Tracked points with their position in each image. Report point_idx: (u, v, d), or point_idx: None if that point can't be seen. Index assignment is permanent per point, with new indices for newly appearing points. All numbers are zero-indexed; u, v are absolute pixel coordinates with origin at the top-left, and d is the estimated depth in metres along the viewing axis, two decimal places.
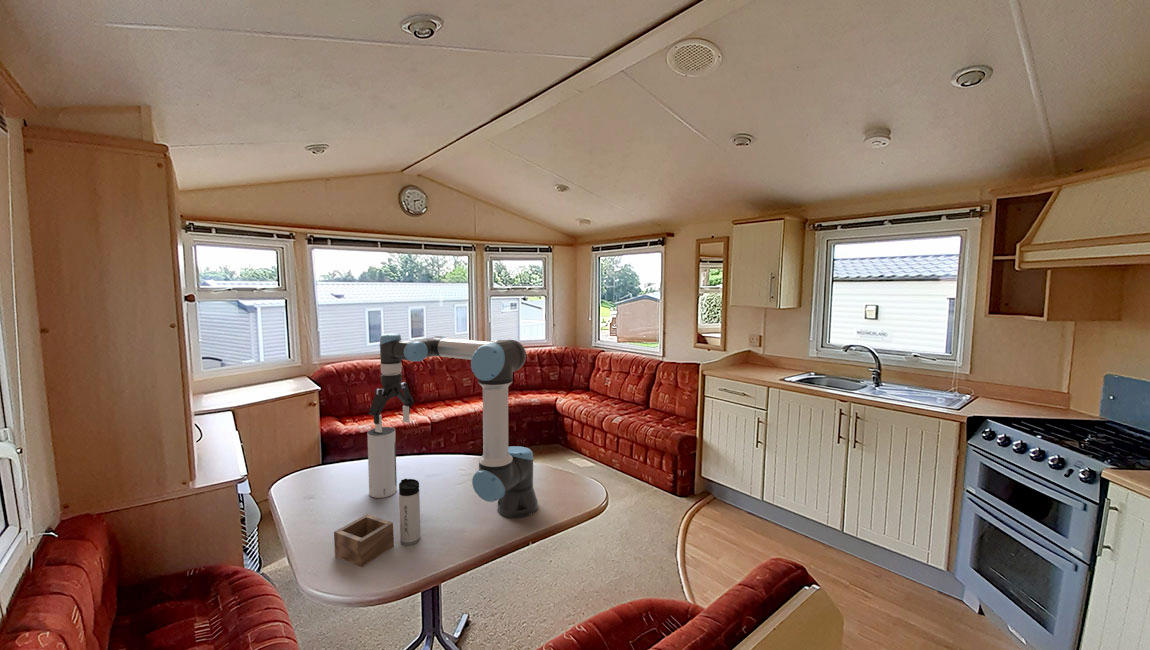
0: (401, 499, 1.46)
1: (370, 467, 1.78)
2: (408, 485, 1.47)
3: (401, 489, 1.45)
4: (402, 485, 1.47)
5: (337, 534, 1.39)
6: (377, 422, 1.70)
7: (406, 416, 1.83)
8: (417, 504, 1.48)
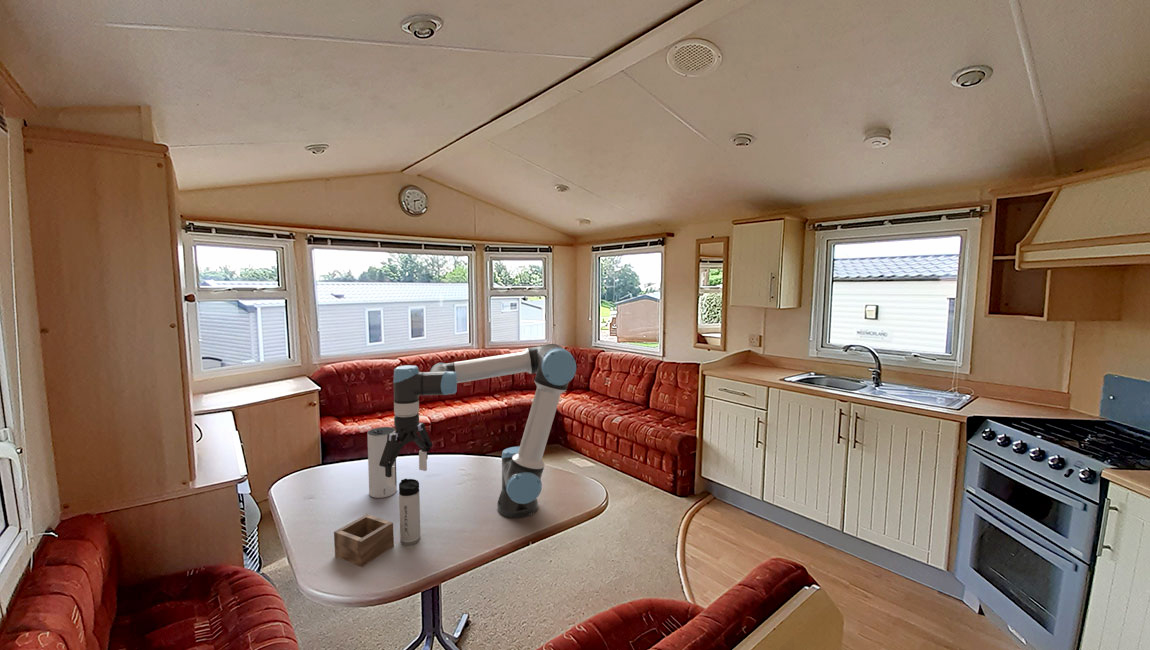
0: (401, 499, 1.46)
1: (370, 467, 1.78)
2: (408, 485, 1.47)
3: (401, 489, 1.45)
4: (402, 485, 1.47)
5: (337, 534, 1.39)
6: (389, 475, 1.40)
7: (423, 463, 1.53)
8: (417, 504, 1.48)
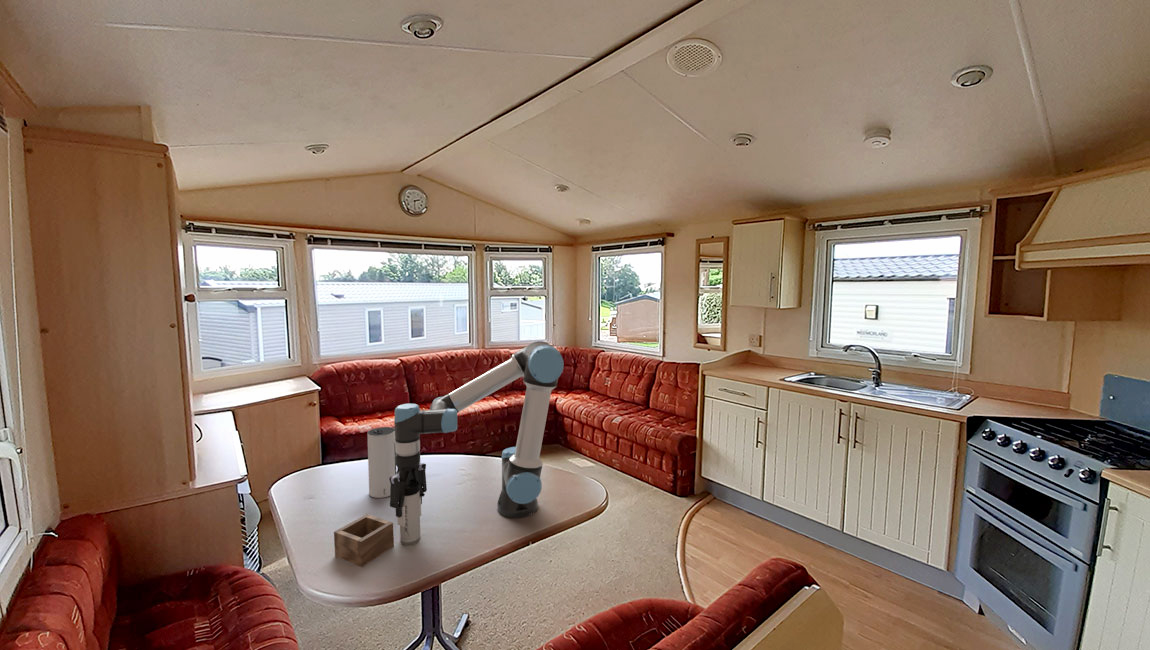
0: None
1: (370, 467, 1.78)
2: (408, 485, 1.47)
3: None
4: None
5: (337, 534, 1.39)
6: (400, 515, 1.44)
7: None
8: (417, 504, 1.48)
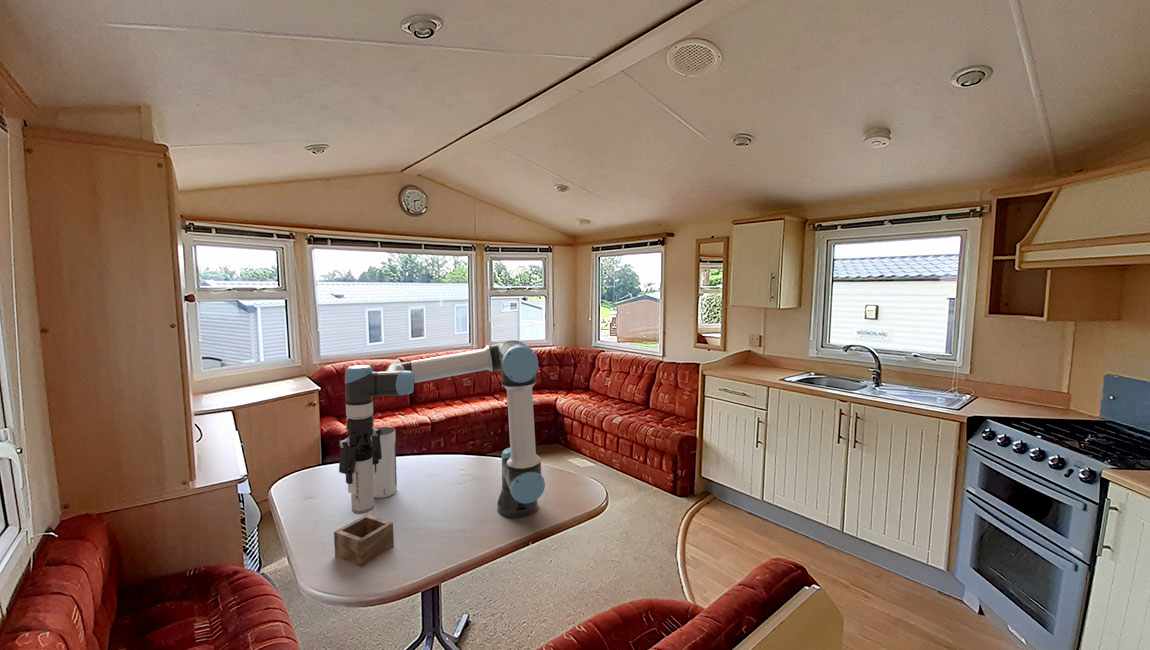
0: None
1: None
2: (360, 451, 1.40)
3: None
4: None
5: (337, 534, 1.39)
6: (350, 481, 1.37)
7: None
8: (369, 471, 1.40)
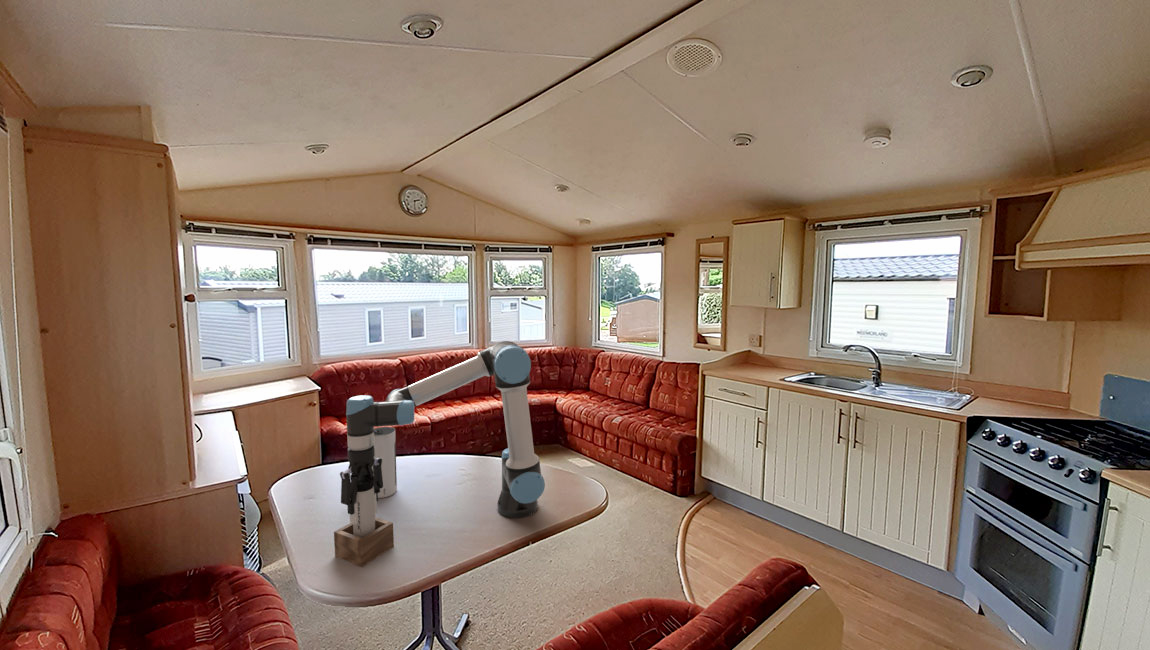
0: None
1: None
2: (361, 481, 1.41)
3: None
4: None
5: (337, 534, 1.39)
6: (352, 512, 1.38)
7: None
8: (371, 500, 1.41)
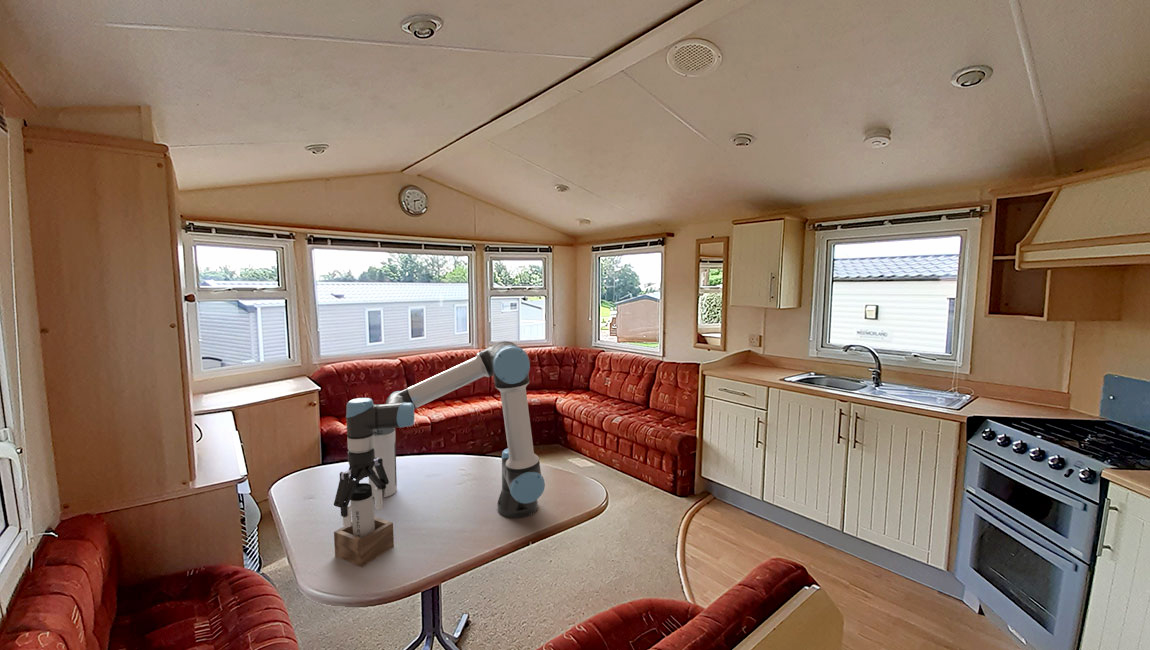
0: (352, 504, 1.39)
1: None
2: (360, 489, 1.41)
3: None
4: None
5: (337, 534, 1.39)
6: (345, 514, 1.35)
7: (378, 502, 1.47)
8: (370, 509, 1.41)
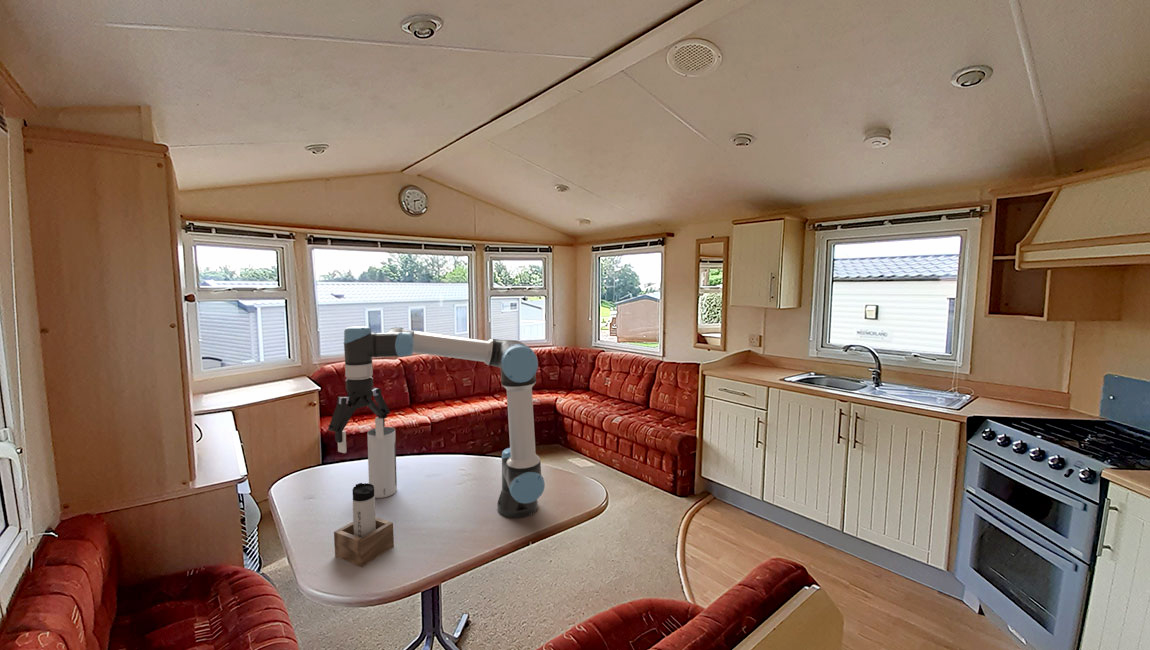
0: (354, 504, 1.39)
1: (370, 467, 1.78)
2: (362, 490, 1.41)
3: (354, 494, 1.39)
4: (356, 490, 1.41)
5: (337, 534, 1.39)
6: (340, 440, 1.33)
7: (379, 431, 1.46)
8: (372, 510, 1.41)
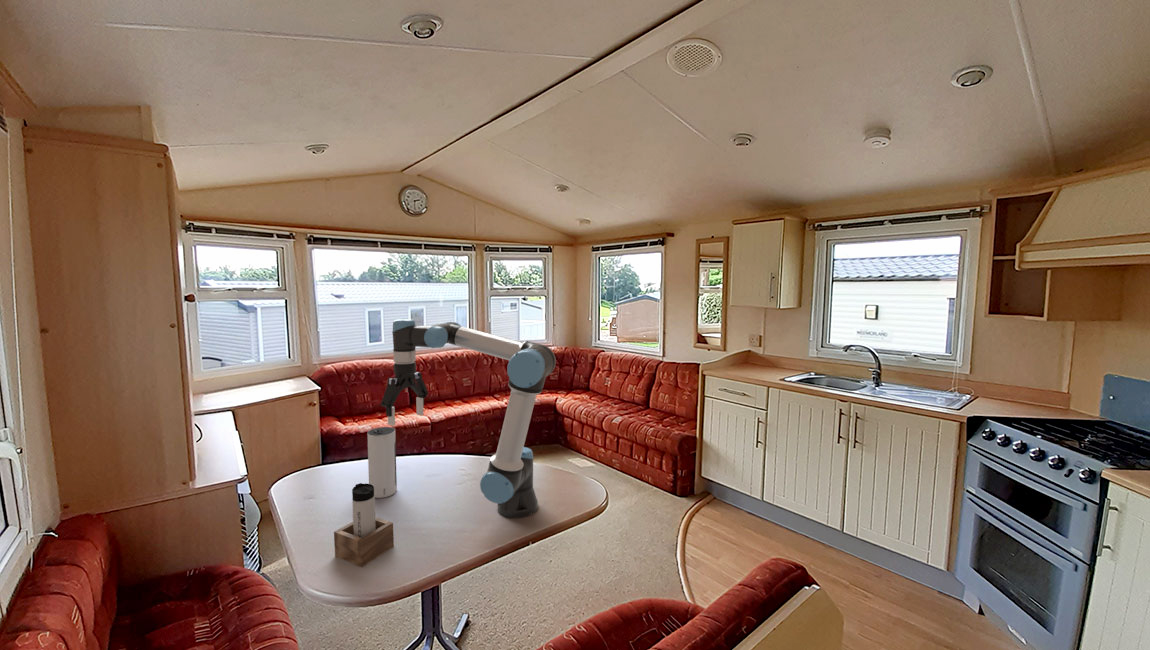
0: (354, 505, 1.39)
1: (370, 467, 1.78)
2: (362, 490, 1.41)
3: (354, 494, 1.39)
4: (356, 490, 1.41)
5: (337, 534, 1.39)
6: (390, 414, 1.58)
7: (420, 408, 1.71)
8: (371, 510, 1.41)
